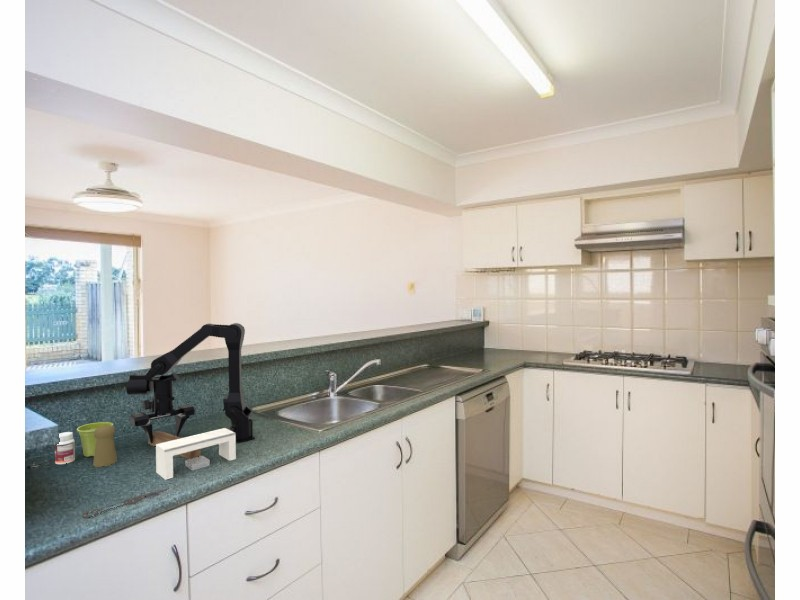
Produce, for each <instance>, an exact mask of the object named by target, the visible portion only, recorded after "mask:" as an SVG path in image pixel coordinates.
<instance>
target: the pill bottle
mask: <svg viewBox="0 0 800 600" xmlns="http://www.w3.org/2000/svg"><path fill="white" fill-rule="evenodd" d="M58 434H59V438H60V442H59V444H57V445H55V444H54V459H55V460H54V463H55V464H56V465H66V463H67V464H70V463H73V462H74V461H75V460H76V451H75V450H76V449H75V448H76V447H75V443H76V441H75V439H74V433H73V431H66V432H65V431H64V432H59V433H58Z"/></svg>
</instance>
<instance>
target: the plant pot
mask: <svg viewBox="0 0 800 600" xmlns="http://www.w3.org/2000/svg"><path fill="white" fill-rule="evenodd" d="M105 425H111V426H113V427H114V423H112V422H109V421H103V422H92V423H87V424H83V425H81V426H78V427H77V428H76V431H77V432H78V434H79V436H80V440H81V441H80V443H81V447H82V453H83V456H84V457H87V458H88V457H94V454H95V447H96V438H95V436H94V431H95V430H96V428H98V427H100V426H105Z"/></svg>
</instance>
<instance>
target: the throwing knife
mask: <svg viewBox="0 0 800 600" xmlns="http://www.w3.org/2000/svg"><path fill="white" fill-rule="evenodd" d="M173 489H174V487H171V488H166V489H162V490H161V489H160V490H157V491H156V490H155V491H153V492H148V493H144V494H141V495H136V496H133V497H130V498H127V499H125V500H124V501H121V502H116V503H114V504H110V505H107V506H104V507H101V508H95V509H91V510H87V511H85V512H84V513H82V518H83V517H84V518H83V519H90V518H89V517H92V518H94V517H93V516H95V517H97V516H99V515H98V514H99V513H98V511H100V510H101V509H103V508H105V507H109V506H112V505H116V504H118V503H124V504H123V505H126V506H128V505H127V504H134V505H137V504H140V503H142V501H143V502H145V501H147V500H150V499H152V498H155V497H157V496H160V495H162V494H164V493H166V492H169V491H171V490H173ZM145 496H146V497H145ZM139 498H140V499H139ZM132 500H134V501H132ZM126 502H127V503H126ZM139 502H140V503H139ZM136 503H137V504H136ZM123 505H120V506H122V507H124V506H123ZM117 507H119V506H117ZM117 507H116V509H118V508H117ZM114 508H115V507H114ZM119 508H120V507H119ZM110 509H113V508H110ZM110 509H107V510H110ZM92 510H93V511H96V510H97V511H96V513H92V514H91V515H88V514H87V513H89V512H93V511H92ZM107 510H104V511H107ZM113 510H114V509H113ZM104 511H101V512H100V513H102V512H104ZM110 511H111V510H110ZM107 512H108V511H107ZM104 513H105V512H104ZM89 514H90V513H89ZM102 514H103V513H102ZM96 515H97V516H96Z"/></svg>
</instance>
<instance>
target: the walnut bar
mask: <svg viewBox="0 0 800 600" xmlns="http://www.w3.org/2000/svg"><path fill="white" fill-rule="evenodd" d="M152 432H153V442H152V444H151V443H150V442H149V439H148V438H147V439H148V440H147V441H148V445H149V444H150V445H149V446H151V447H154V446H156V444H159V443H164V442H168V441H172V440H176V439H180V438H181V437H180V436H178V437H177V436H175V434H171V433H167V432H164V431H161V430H156V431H155V430H154V431H152ZM201 449H202V448H201ZM201 449H197V450H193V451H189V452H186V453H182V454H178V455H177V456H179V455H180V456H179V457H182V456H183V457H182V458H185V459H186V460H188V459H192V458H195V457H198V456H202V454H201V453H202V452H201Z"/></svg>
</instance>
